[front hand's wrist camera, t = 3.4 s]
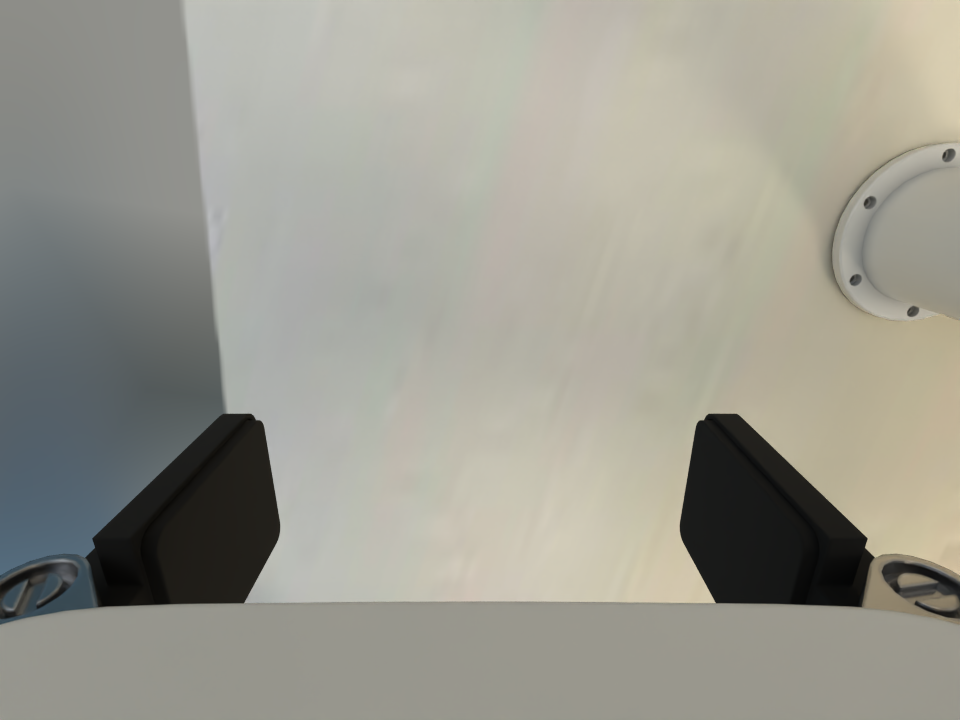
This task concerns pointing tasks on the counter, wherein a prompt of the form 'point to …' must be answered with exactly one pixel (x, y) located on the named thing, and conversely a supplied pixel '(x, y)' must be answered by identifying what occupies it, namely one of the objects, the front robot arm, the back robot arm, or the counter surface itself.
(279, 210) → the counter surface
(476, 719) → the front robot arm
